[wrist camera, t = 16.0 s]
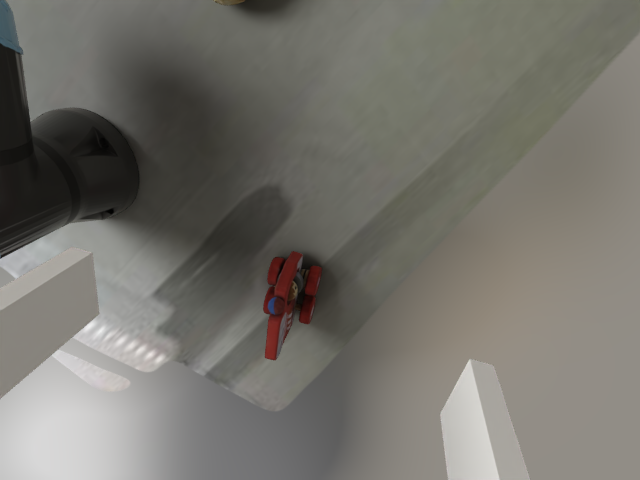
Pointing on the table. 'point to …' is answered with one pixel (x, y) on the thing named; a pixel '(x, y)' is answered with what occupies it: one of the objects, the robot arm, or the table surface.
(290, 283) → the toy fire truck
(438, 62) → the table surface
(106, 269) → the table surface
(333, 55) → the table surface
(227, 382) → the table surface
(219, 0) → the onion
